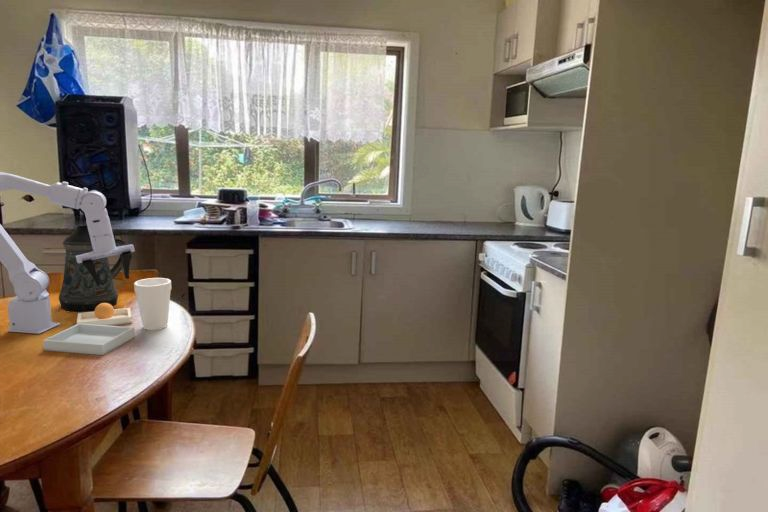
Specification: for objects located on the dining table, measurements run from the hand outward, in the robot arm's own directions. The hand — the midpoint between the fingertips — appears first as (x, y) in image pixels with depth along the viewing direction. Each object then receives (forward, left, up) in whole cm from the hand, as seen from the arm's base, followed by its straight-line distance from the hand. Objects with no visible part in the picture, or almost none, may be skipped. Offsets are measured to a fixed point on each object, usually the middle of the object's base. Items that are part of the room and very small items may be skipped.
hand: (112, 281), depth 151 cm
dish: (-3, 0, -12) cm, 13 cm away
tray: (+4, -16, -12) cm, 20 cm away
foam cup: (+13, -1, -12) cm, 18 cm away
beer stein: (-17, +15, -12) cm, 26 cm away
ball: (-3, 0, -9) cm, 10 cm away
